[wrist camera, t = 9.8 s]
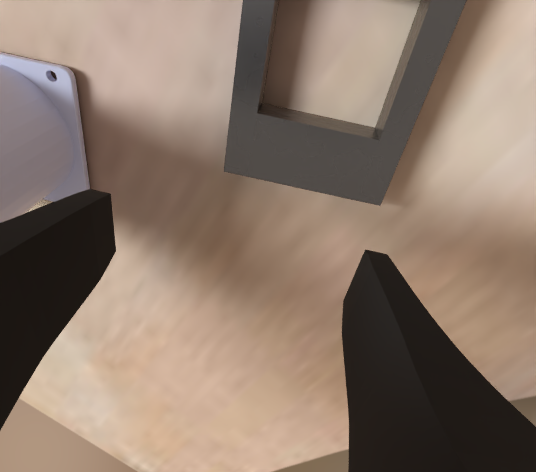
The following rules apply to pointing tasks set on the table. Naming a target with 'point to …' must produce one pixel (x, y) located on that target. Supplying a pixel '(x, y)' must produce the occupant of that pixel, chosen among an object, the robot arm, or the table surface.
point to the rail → (327, 129)
